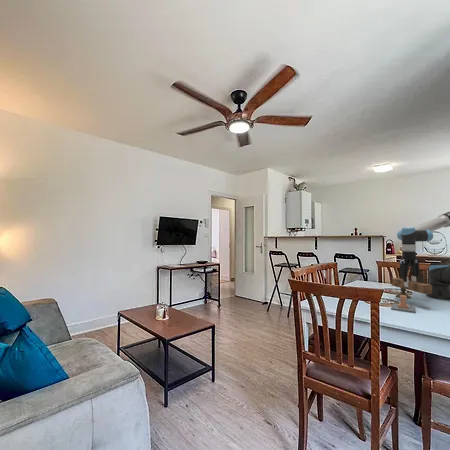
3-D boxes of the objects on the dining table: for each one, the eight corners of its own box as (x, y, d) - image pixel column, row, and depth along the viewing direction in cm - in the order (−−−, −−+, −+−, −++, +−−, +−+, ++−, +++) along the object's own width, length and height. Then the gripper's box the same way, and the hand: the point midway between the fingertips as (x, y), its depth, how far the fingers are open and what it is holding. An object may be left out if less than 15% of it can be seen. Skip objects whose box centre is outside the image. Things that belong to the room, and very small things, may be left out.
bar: (391, 285, 188) (391, 278, 188) (397, 285, 189) (397, 277, 189) (424, 293, 162) (424, 285, 162) (432, 293, 163) (431, 285, 163)
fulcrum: (392, 305, 171) (392, 292, 172) (415, 308, 164) (415, 295, 165) (391, 309, 162) (391, 296, 162) (415, 313, 155) (415, 299, 155)
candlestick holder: (413, 299, 187) (413, 256, 188) (399, 298, 189) (398, 255, 190) (407, 296, 196) (406, 255, 197) (393, 295, 198) (393, 254, 199)
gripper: (415, 250, 181) (417, 284, 181) (392, 250, 178) (393, 286, 178) (425, 250, 174) (427, 286, 173) (401, 251, 171) (402, 288, 170)
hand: (410, 286), depth 175 cm, fingers closed on bar, 5 cm apart
